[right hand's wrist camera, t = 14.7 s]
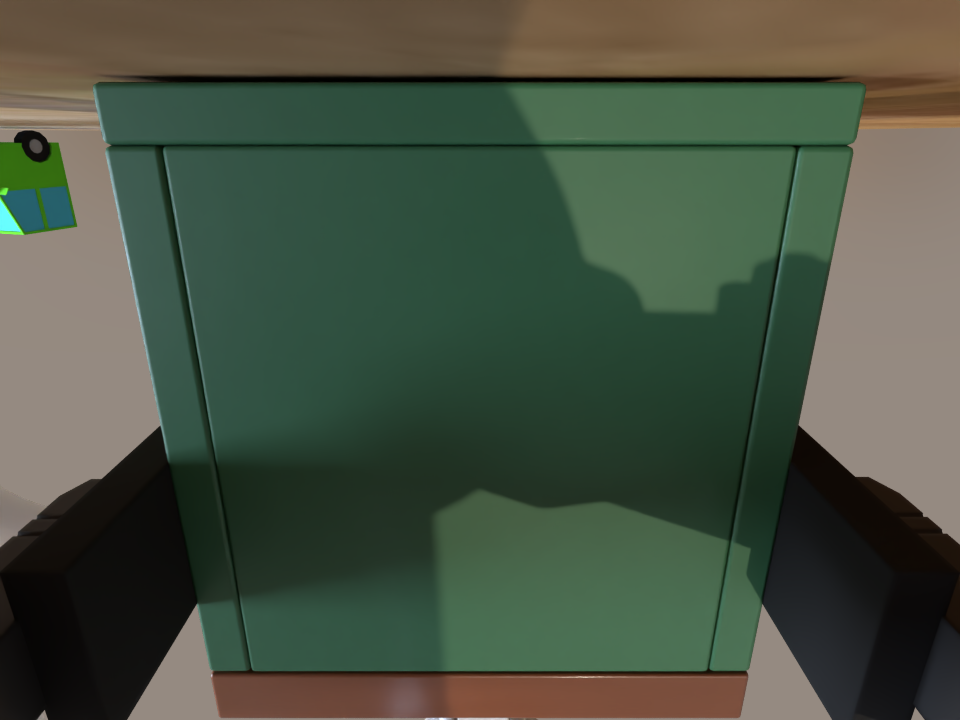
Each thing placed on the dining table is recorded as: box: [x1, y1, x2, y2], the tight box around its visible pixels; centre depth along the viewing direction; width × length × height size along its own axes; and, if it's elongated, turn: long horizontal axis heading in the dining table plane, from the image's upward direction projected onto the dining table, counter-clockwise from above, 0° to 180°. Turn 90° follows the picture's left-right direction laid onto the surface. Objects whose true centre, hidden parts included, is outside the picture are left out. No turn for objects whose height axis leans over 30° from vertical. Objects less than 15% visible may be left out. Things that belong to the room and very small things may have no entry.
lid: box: [211, 667, 748, 718], centre depth 20 cm, size 16×10×9 cm, turn 0°
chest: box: [93, 82, 866, 671], centre depth 16 cm, size 16×10×10 cm, turn 0°
